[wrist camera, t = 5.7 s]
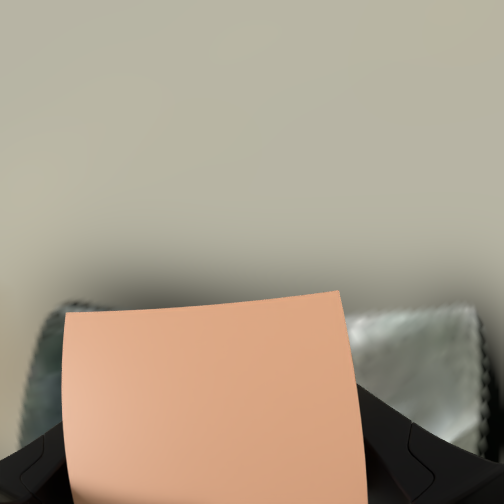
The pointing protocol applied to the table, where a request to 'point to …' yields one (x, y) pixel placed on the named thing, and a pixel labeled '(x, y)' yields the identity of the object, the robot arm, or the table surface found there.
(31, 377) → the table surface
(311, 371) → the post
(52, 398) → the table surface
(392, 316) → the table surface
